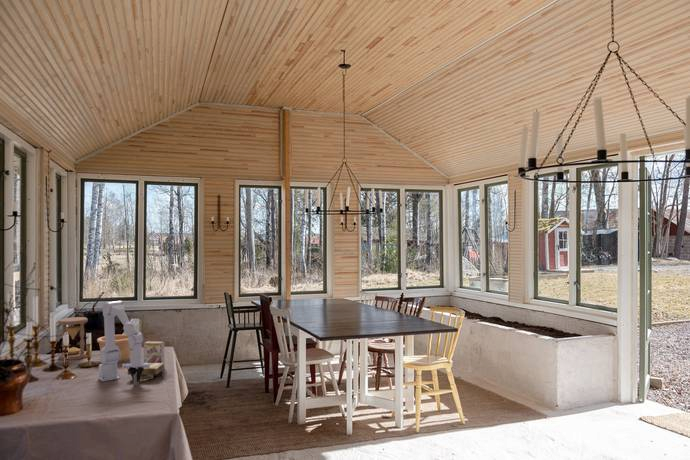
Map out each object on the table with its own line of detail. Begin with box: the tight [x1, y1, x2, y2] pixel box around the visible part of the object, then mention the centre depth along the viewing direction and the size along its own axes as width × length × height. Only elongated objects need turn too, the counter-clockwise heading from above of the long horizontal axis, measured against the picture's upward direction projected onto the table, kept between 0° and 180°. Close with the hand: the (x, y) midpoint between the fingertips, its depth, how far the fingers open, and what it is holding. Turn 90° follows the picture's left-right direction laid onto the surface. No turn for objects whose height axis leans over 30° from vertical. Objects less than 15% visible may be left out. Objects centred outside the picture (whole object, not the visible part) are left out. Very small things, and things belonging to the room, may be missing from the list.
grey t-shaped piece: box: [133, 373, 154, 387], centre depth 307 cm, size 8×15×6 cm, turn 178°
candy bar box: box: [143, 340, 166, 369], centre depth 333 cm, size 11×5×16 cm, turn 84°
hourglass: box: [57, 316, 89, 361], centre depth 367 cm, size 18×18×25 cm
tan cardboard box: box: [126, 363, 166, 377], centre depth 315 cm, size 17×12×7 cm
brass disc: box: [139, 377, 149, 382], centre depth 311 cm, size 5×5×1 cm
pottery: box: [96, 334, 130, 364], centre depth 358 cm, size 22×22×14 cm
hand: (136, 381), depth 301 cm, fingers closed on grey t-shaped piece
